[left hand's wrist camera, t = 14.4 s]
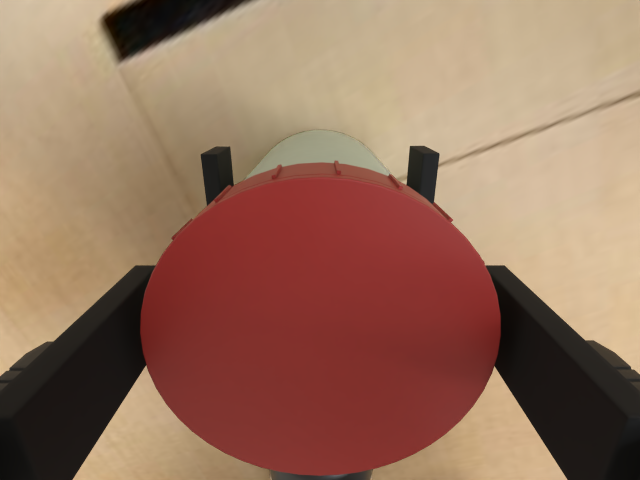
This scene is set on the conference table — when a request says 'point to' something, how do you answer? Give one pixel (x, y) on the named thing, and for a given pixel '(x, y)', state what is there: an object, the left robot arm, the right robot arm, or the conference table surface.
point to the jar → (319, 152)
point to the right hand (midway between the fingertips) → (319, 149)
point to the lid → (320, 321)
